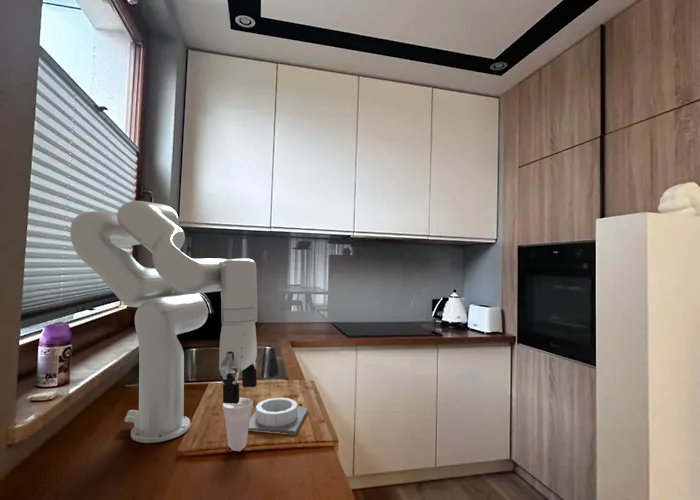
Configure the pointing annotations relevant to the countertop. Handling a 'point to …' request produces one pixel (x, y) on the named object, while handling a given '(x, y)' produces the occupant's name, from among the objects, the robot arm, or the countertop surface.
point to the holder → (278, 416)
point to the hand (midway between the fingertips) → (240, 394)
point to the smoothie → (237, 422)
